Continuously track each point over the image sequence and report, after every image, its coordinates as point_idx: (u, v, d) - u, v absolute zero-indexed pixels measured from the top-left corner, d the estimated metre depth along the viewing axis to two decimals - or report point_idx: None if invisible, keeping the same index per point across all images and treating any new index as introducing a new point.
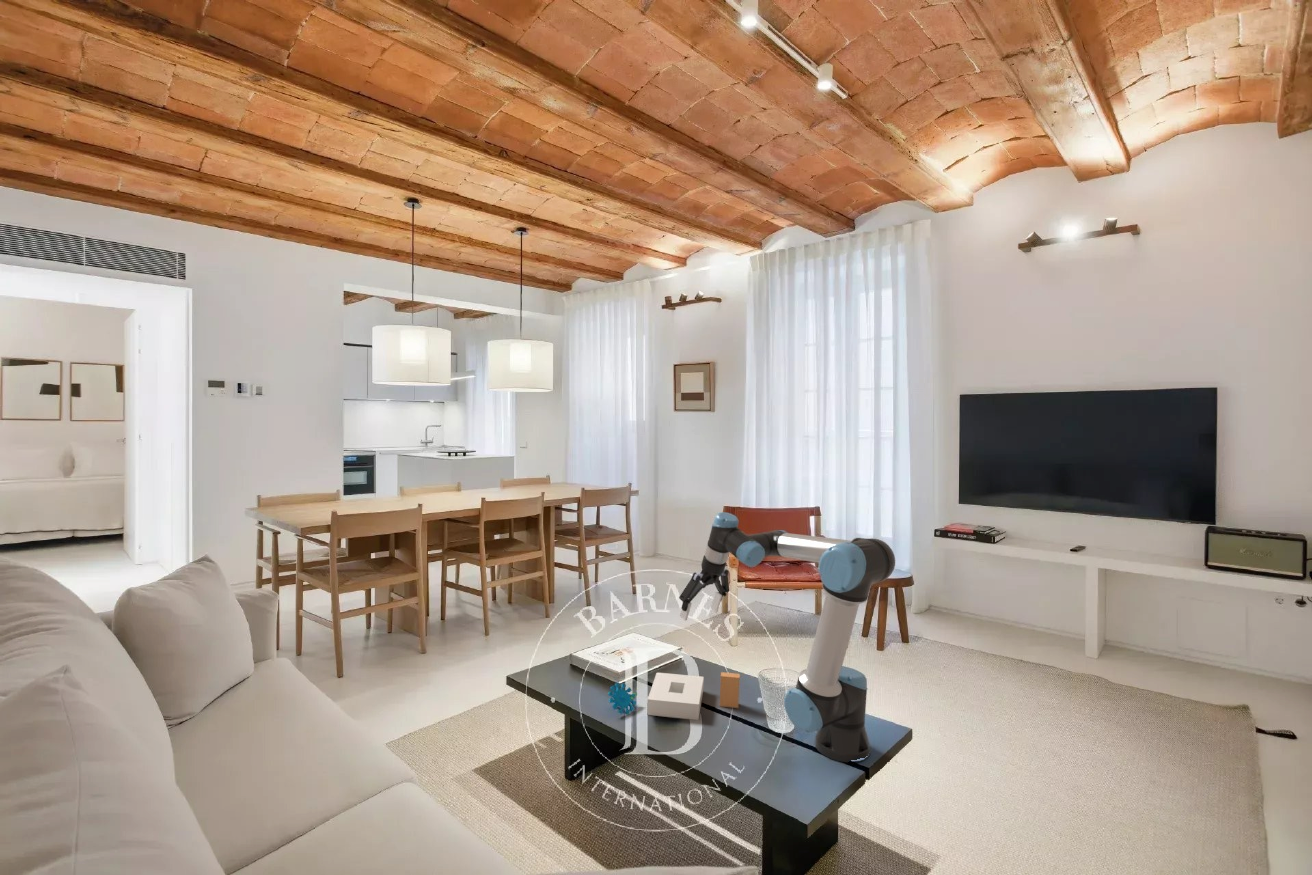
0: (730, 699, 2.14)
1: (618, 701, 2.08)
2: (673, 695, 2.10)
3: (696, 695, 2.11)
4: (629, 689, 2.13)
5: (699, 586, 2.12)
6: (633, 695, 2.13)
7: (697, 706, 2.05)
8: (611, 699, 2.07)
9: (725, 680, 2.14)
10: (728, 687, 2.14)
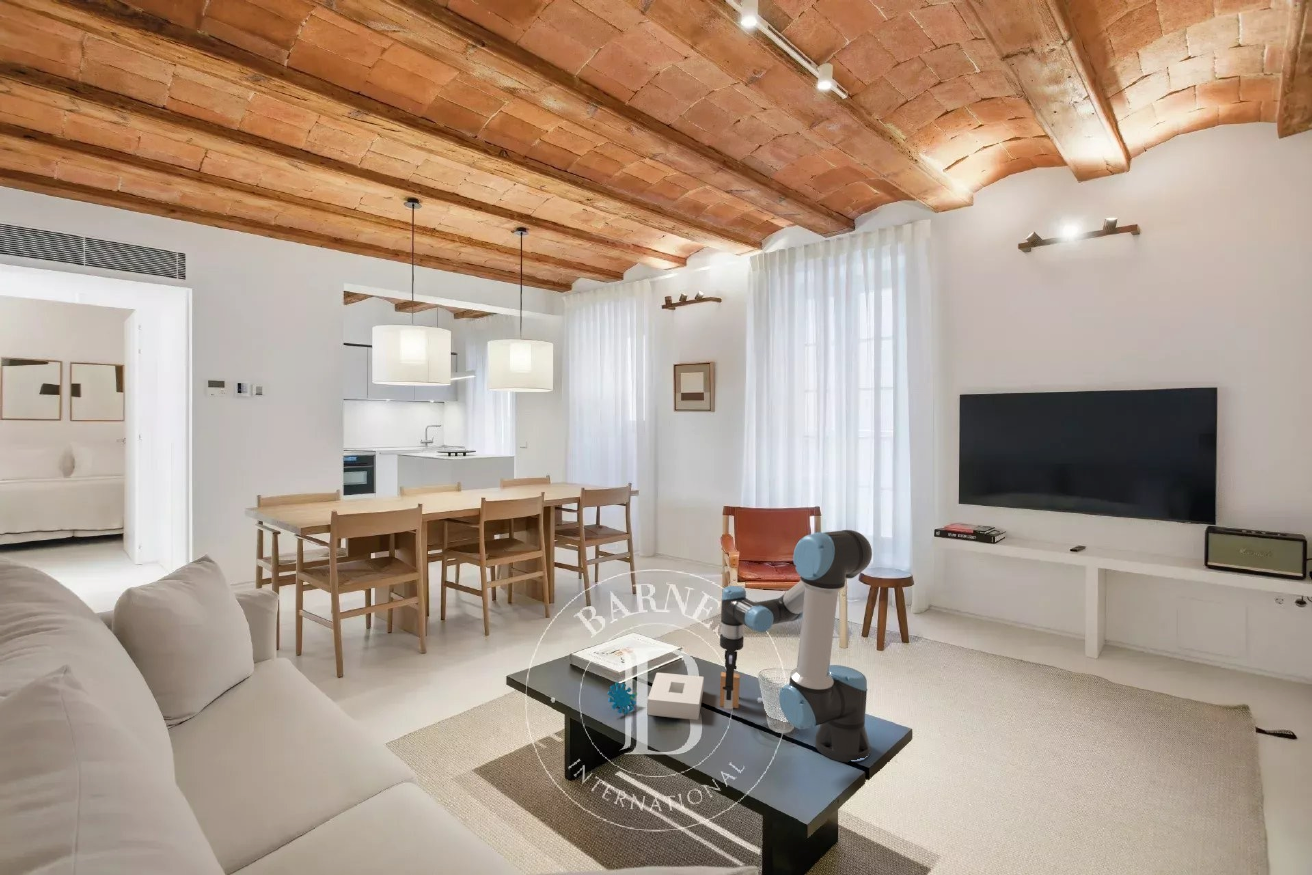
0: None
1: (617, 700, 2.08)
2: (673, 695, 2.10)
3: (696, 695, 2.11)
4: (629, 689, 2.13)
5: None
6: (633, 695, 2.13)
7: (697, 706, 2.05)
8: (610, 699, 2.07)
9: (725, 680, 2.14)
10: None
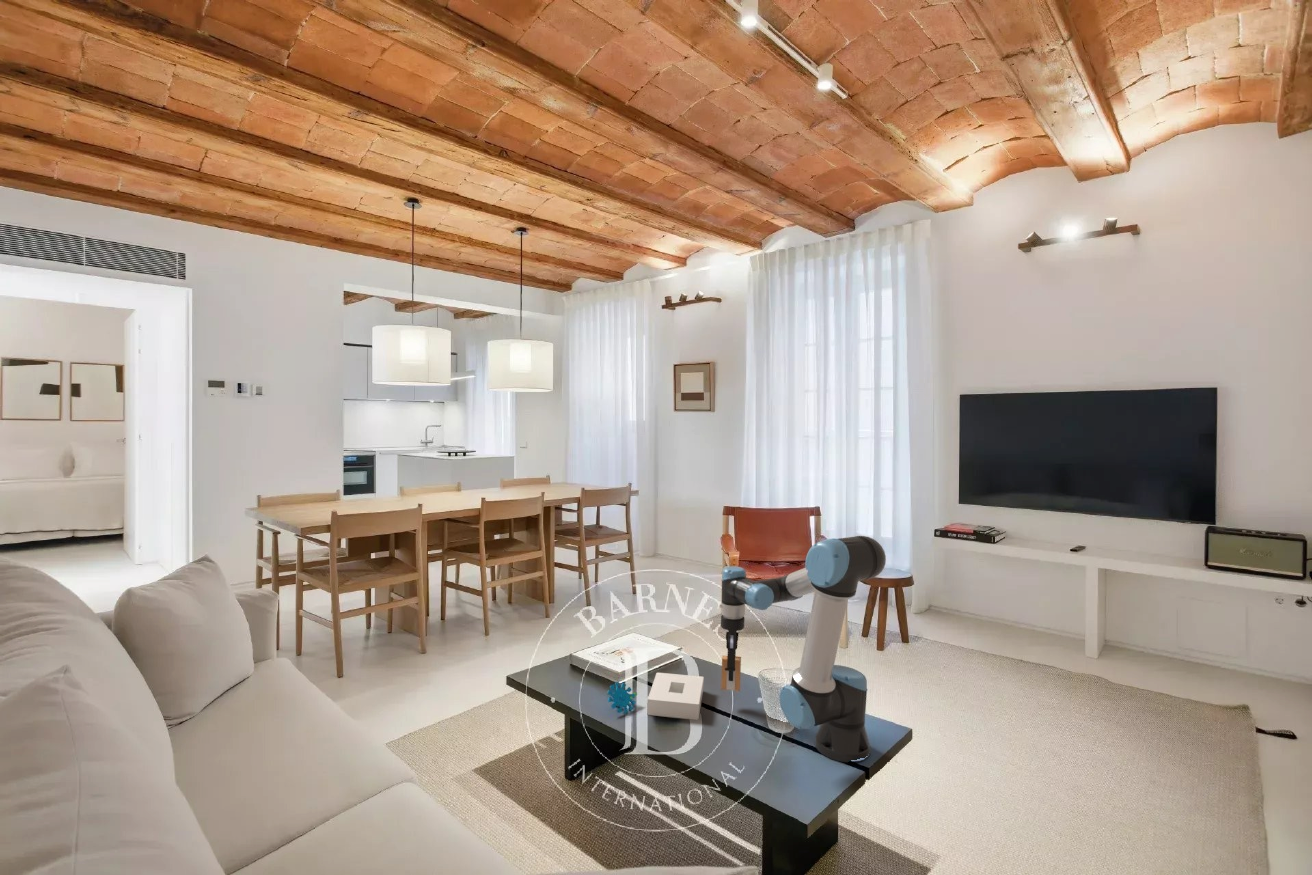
0: None
1: (617, 700, 2.08)
2: (673, 695, 2.10)
3: (696, 695, 2.11)
4: (629, 689, 2.14)
5: None
6: (633, 695, 2.13)
7: (697, 706, 2.05)
8: (610, 698, 2.07)
9: (726, 663, 2.13)
10: None
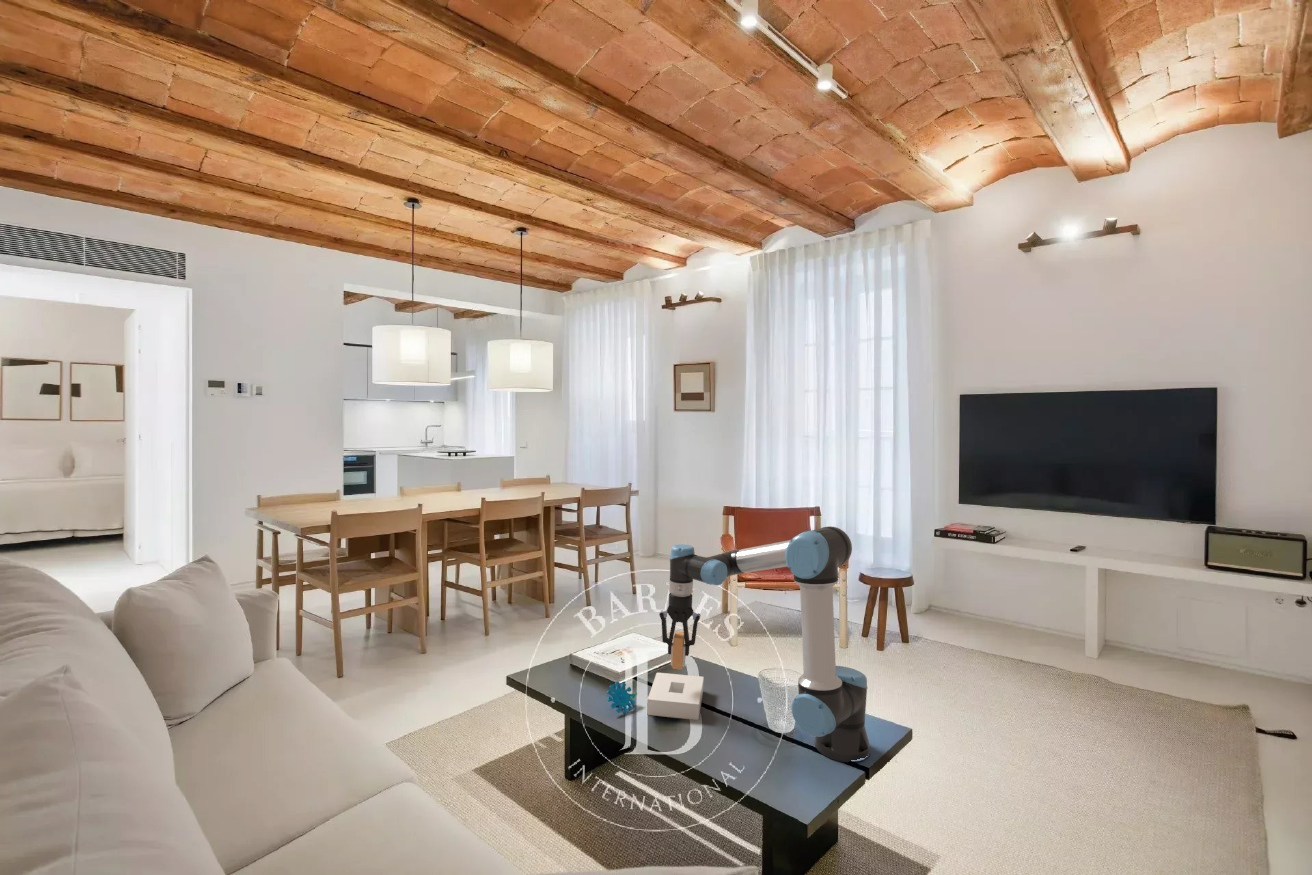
0: None
1: (616, 700, 2.08)
2: (673, 695, 2.10)
3: (696, 695, 2.11)
4: (629, 688, 2.14)
5: (687, 624, 2.15)
6: (633, 695, 2.13)
7: (697, 706, 2.05)
8: (609, 698, 2.08)
9: (683, 640, 2.13)
10: None
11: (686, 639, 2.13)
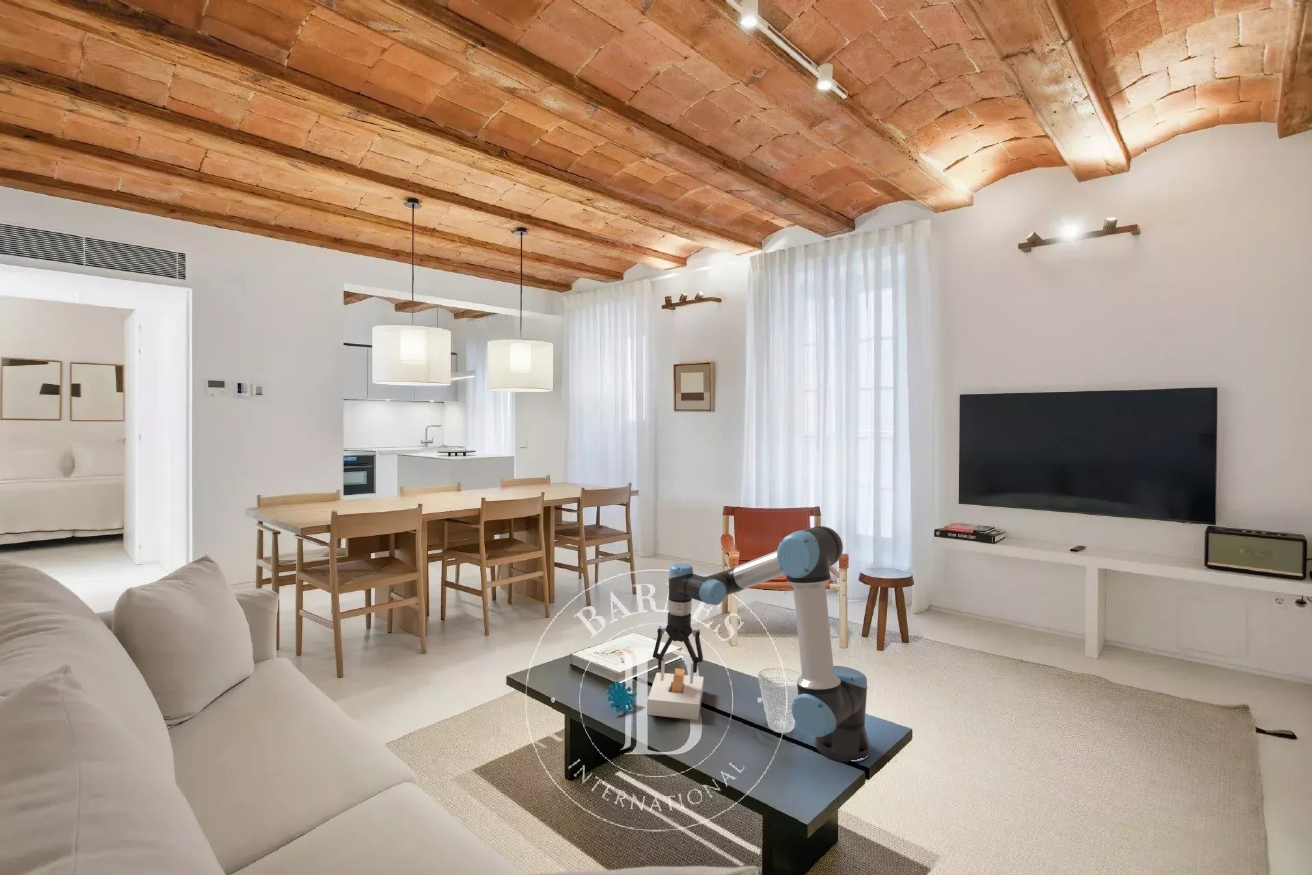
0: None
1: (616, 699, 2.09)
2: (673, 695, 2.10)
3: (696, 695, 2.11)
4: (629, 688, 2.14)
5: (689, 642, 2.15)
6: (632, 694, 2.13)
7: (697, 706, 2.05)
8: (609, 697, 2.08)
9: None
10: (682, 684, 2.15)
11: (693, 656, 2.13)
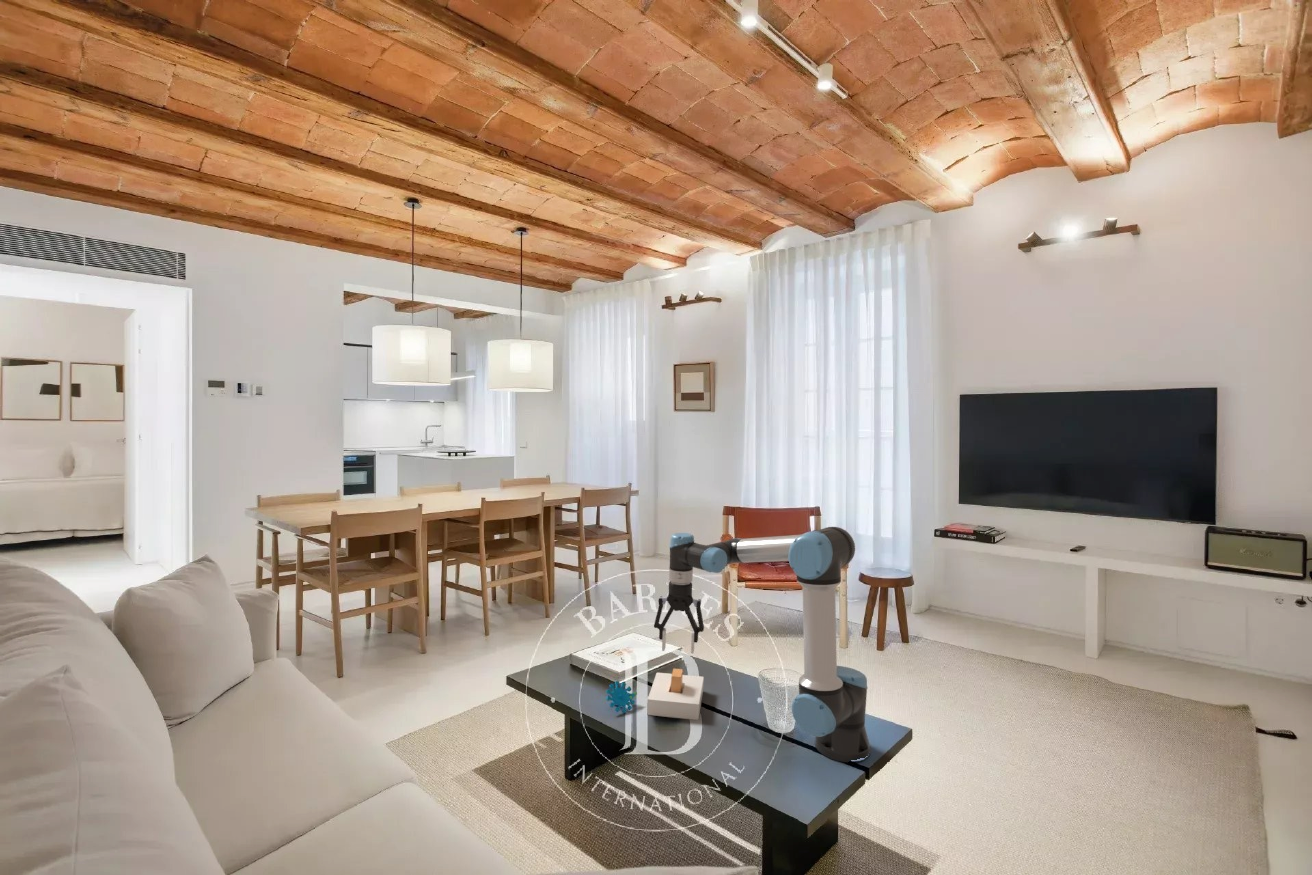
0: None
1: (615, 699, 2.09)
2: (673, 695, 2.10)
3: (696, 695, 2.11)
4: (629, 688, 2.14)
5: (690, 612, 2.14)
6: (632, 694, 2.13)
7: (697, 706, 2.05)
8: (608, 697, 2.08)
9: (681, 678, 2.14)
10: (681, 684, 2.15)
11: (694, 626, 2.12)
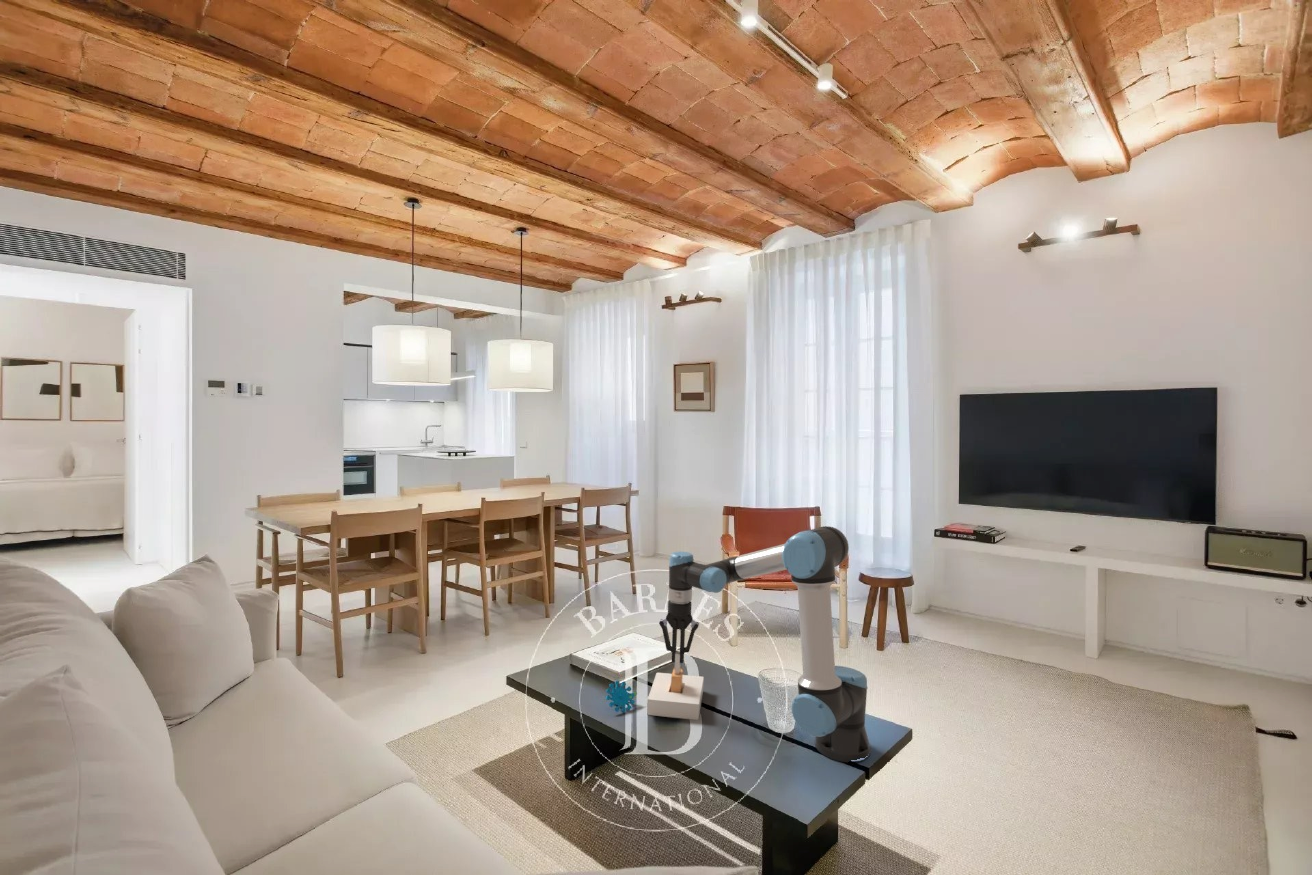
0: None
1: (615, 699, 2.09)
2: (673, 695, 2.10)
3: (696, 695, 2.11)
4: (629, 688, 2.14)
5: (684, 632, 2.15)
6: (632, 694, 2.13)
7: (697, 706, 2.05)
8: (608, 696, 2.09)
9: (681, 678, 2.14)
10: (681, 684, 2.15)
11: (682, 647, 2.13)
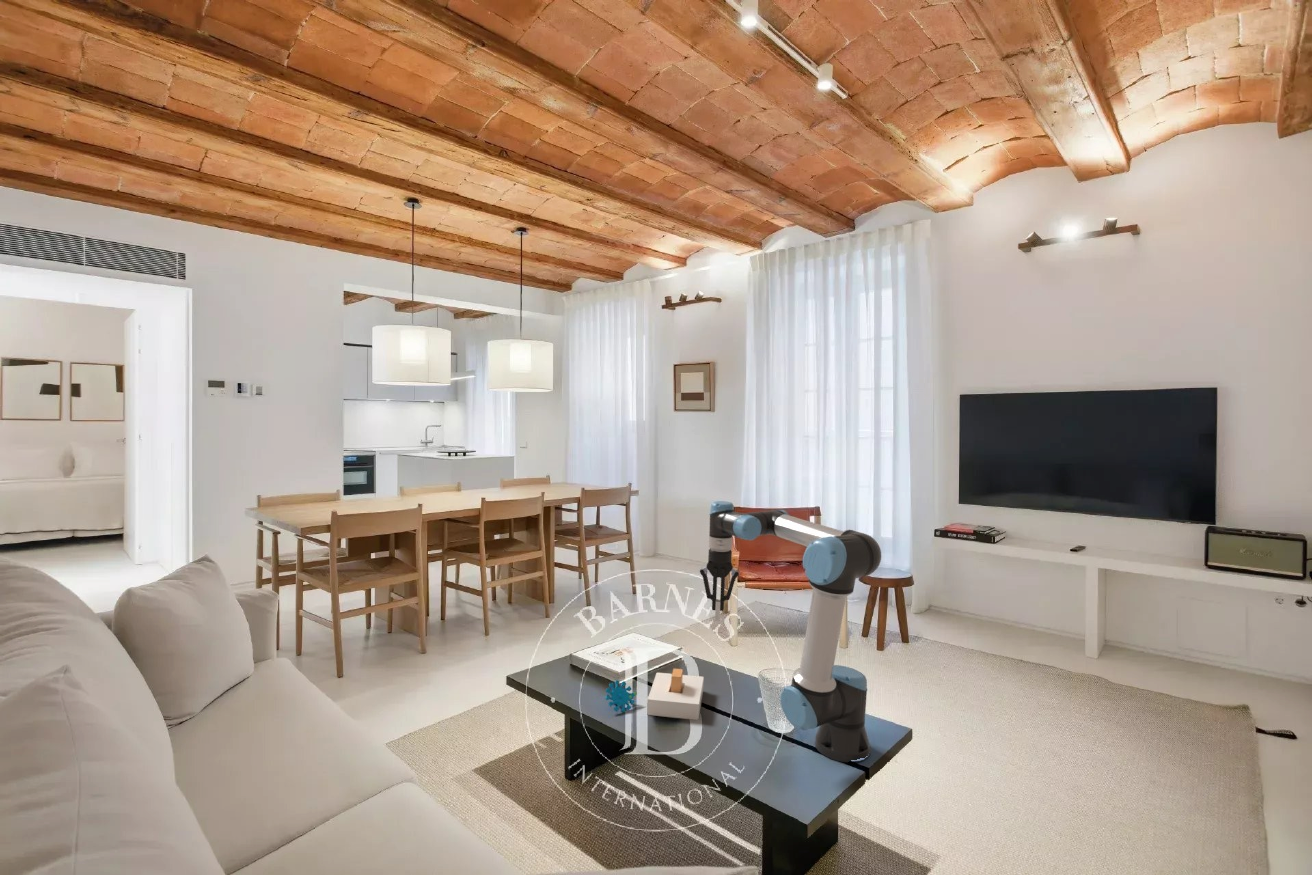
0: None
1: (615, 698, 2.09)
2: (673, 695, 2.10)
3: (696, 695, 2.11)
4: (629, 688, 2.14)
5: None
6: (632, 694, 2.13)
7: (697, 706, 2.05)
8: (607, 696, 2.09)
9: (681, 678, 2.14)
10: (681, 684, 2.15)
11: (722, 595, 2.16)
